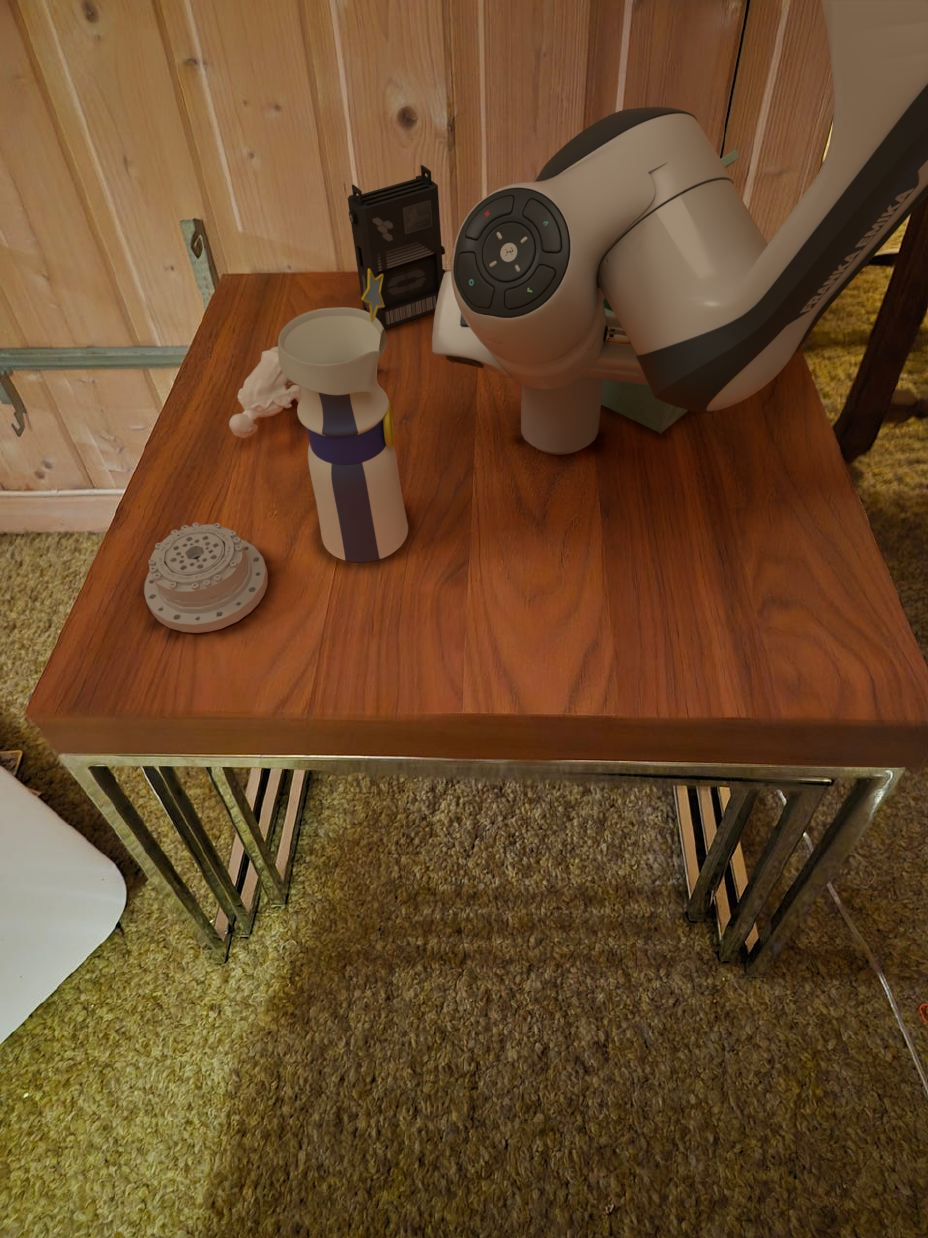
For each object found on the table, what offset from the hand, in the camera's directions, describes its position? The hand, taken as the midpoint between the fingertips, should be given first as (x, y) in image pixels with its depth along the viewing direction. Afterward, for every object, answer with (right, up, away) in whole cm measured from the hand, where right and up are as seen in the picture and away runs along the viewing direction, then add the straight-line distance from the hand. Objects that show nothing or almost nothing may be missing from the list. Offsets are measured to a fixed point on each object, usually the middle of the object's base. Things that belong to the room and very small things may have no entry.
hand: (566, 364), depth 76 cm
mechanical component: (-31, -21, -5) cm, 37 cm away
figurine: (-26, -1, +10) cm, 28 cm away
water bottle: (-18, -15, -1) cm, 23 cm away
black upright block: (-16, +13, +22) cm, 30 cm away
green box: (+8, +2, +11) cm, 14 cm away
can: (0, -5, +6) cm, 8 cm away
